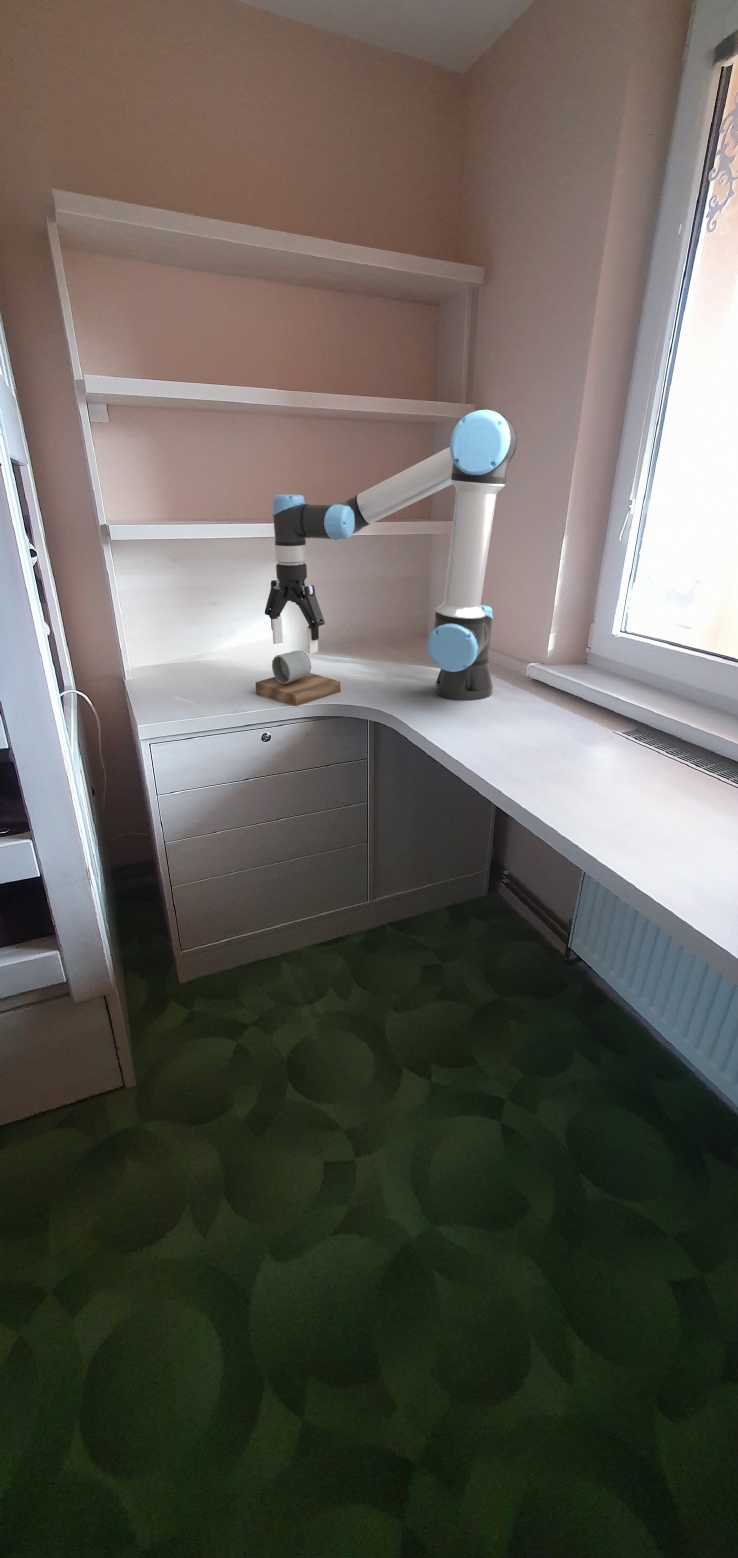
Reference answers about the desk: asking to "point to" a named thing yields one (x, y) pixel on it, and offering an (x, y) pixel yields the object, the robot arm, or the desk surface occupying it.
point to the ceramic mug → (291, 666)
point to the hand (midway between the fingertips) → (295, 647)
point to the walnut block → (298, 689)
